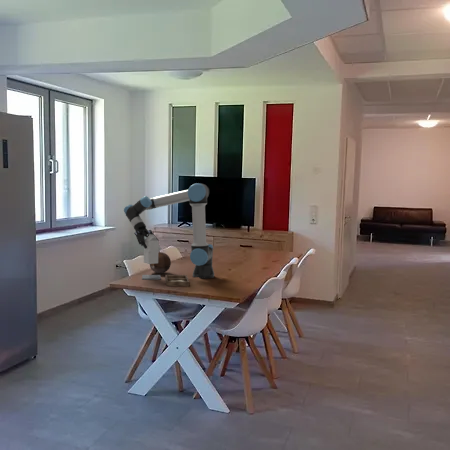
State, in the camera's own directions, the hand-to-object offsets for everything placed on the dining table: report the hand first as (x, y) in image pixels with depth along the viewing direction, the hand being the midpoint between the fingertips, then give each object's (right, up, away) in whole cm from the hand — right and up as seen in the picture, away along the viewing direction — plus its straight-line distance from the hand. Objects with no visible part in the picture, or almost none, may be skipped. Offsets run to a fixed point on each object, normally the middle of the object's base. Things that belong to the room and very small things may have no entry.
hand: (154, 251), depth 311 cm
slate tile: (-3, -19, +3) cm, 19 cm away
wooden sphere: (0, -17, +27) cm, 32 cm away
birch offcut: (+16, -20, -14) cm, 29 cm away
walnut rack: (+15, -21, -9) cm, 27 cm away
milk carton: (-3, -8, +3) cm, 9 cm away
